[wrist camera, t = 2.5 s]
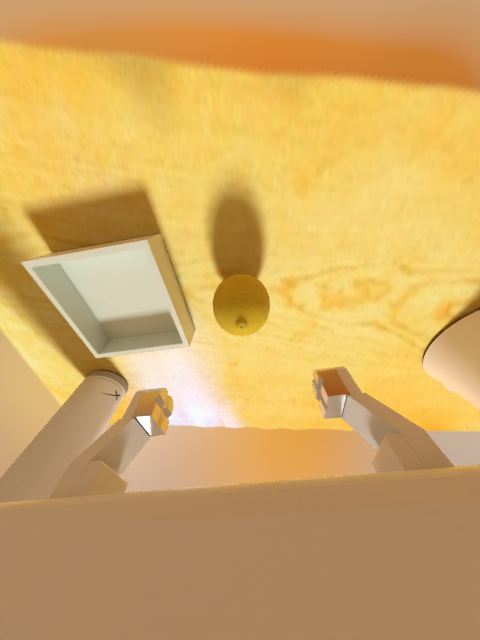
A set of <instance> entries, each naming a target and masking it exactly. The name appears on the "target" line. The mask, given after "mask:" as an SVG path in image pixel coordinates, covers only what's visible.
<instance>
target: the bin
mask: <svg viewBox="0 0 480 640" xmlns="http://www.w3.org/2000/svg"><path fill="white" fill-rule="evenodd" d="M21 264H22V265H23V266H24V268H25V269H26V270H27V271H28V273H29V274H30V275H31V276H32V278H33V279H34V280H35V281H36V283H37V284H38V285H39V287H40V288H41V289H42V290H43V292H44V293H45V294H46V295H47V297H48V298H49V299H50V300H51V302H52V303H53V304H54V306H55V307H56V308H57V309H58V311H59V312H60V313H61V314H62V316H63V317H64V318H65V319H66V321H67V322H68V323H69V325H70V326H71V327H72V328H73V330H74V331H75V332H76V333H77V335H78V336H79V337H80V338H81V340H82V341H83V342H84V344H85V345H86V346H87V347H88V349H89V350H90V351H91V352H92V354H93V355H94V356H95V357H96V358H103V357H111V356H119V355H127V354H134V353H142V352H150V351H158V350H166V349H174V348H182V347H190V344H191V341H192V338H193V335H194V332H195V328H194V325H193V322H192V319H191V317H190V314H189V311H188V308H187V305H186V303H185V300H184V297H183V294H182V291H181V288H180V286H179V283H178V280H177V277H176V274H175V272H174V269H173V266H172V263H171V260H170V258H169V255H168V252H167V249H166V246H165V243H164V241H163V238H162V235H161V233H160V234H155V235H149V236H144V237H138V238H133V239H127V240H121V241H116V242H110V243H105V244H99V245H94V246H88V247H82V248H77V249H71V250H66V251H60V252H55V253H50V254H47V255H43V256H40V257H37V258H33V259H30V260H26V261H23V262H21Z"/></svg>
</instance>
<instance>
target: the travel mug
mask: <svg viewBox="0 0 480 640" xmlns="http://www.w3.org/2000/svg"><path fill="white" fill-rule="evenodd" d="M127 390H128V385H127V382H126V381H125V380H124V379H123V378H122V377H121V376H119V375H117V374H115V373H113V372H109V371H94V372H92V373H90V374H89V375H88V376H87V377H86V378H85V380H84V381H83V382H82V383H81V384H80V385H79V387H78V388H77V389H76V390H75V391H74V392H73V394H72V395H71V396H70V397H69V398H68V399H67V401H66V402H65V403H64V404H63V405H62V407H61V408H60V409H59V410H58V411H57V412H56V414H55V415H54V416H53V417H52V418H51V420H50V421H49V422H48V423H47V424H46V425H45V426H44V428H43V429H42V430H41V431H40V432H39V433H38V435H37V436H36V437H35V438H34V439H33V441H32V442H31V443H30V444H29V445H28V446H27V448H26V449H25V450H24V451H23V452H22V454H21V455H20V456H19V457H18V458H17V459H16V461H15V462H14V463H13V464H12V465H11V467H10V468H9V469H8V470H7V471H6V472H5V473H4V475H3V476H2V477H1V478H0V502H12V501H25V500H37V499H48V498H49V497H50V495H51V494H52V492H53V491H54V489H55V487H56V486H57V484H58V483H59V481H60V479H61V478H62V476H63V475H64V473H65V472H66V470H67V468H68V467H69V465H70V464H71V462H72V461H73V460H74V459H75V458H77V457H78V456H79V455H80V454H81V453H82V452H83V451H84V450H86V449H87V448H88V447H89V446H90V445H91V444H92V443H93V442H94V441H96V440H97V439H98V438H99V437H100V436H101V435H102V434H103V432H104V430H105V428H106V427H107V425H108V423H109V421H110V420H111V418H112V416H113V415H114V413H115V411H116V409H117V408H118V406H119V404H120V403H121V401H122V399H123V397H124V396H125V394H126V392H127Z"/></svg>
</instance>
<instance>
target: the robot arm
mask: <svg viewBox="0 0 480 640" xmlns="http://www.w3.org/2000/svg"><path fill="white" fill-rule="evenodd" d="M423 368H424V370H425V372H426V373H427V374H428V375H430V376H431V377H433V378H435V379H436V380H438V381H440V382H441V383H442V385H443V386H444V387H445V388H446V389H448V390H449V391H450V392H456V393H457V394H458V395H460V396H461V397H462V398H464V399H465V400H466V401H467V402H469V403H470V404H471V405H473V406H474V407H475V408H477V409H478V410H479V411H480V310H478V311H476V312H474V313H472V314H470V315H468V316H466V317H464V318H463V319H461V320H459V321H458V322H456V323H455V324H453V325H452V326H450V327H449V328H448V329H446V330H445V331H444V332H443V333H442V334H440V335H439V336H438V337H437V338H436V339H435V340H434V342H433V343H432V344H431V345H430V347H429V348H428V350H427V351H426V353H425V356H424V359H423ZM313 376H314V378H315V379H314V380H313V384H312V385H313V391H314V394H315V397H316V399H318V400H319V401H320V405H319V407H320V409H321V412H322V414H323V416H324V419H327V418H341V417H342V419H343V420H344V421H345V422H346V423H347V424H349V425H350V426H351V427H352V428H353V429H354V430H355V431H356V432H357V433H358V434H359V435H361V436H362V437H363V438H364V439H365V440H366V441H367V442H368V443H369V444H370V445H371V446H373V447H374V448H375V449H376V450H377V453H376V456H375V457H374V459H373V461H372V465H373V467H374V469H375V471H376V473H368V474H356V475H342V476H330V477H317V478H304V479H292V480H279V481H266V482H253V483H242V484H241V483H240V484H228V485H216V486H203V487H189V488H178V489H164V490H151V491H139V492H126V493H124V492H125V490H126V487H127V484H128V483H127V480H126V479H124V478H123V477H122V476H120V475H121V474H122V473H123V472H124V470H125V469H126V468H127V466H128V465H129V464H130V463H131V461H132V460H133V459H134V458H135V456H136V455H137V454H138V452H139V451H140V450H141V449H142V447H143V446H144V444H145V443H146V442H147V441H148V440H149V438H150V436H157V435H165V434H166V431H167V427H168V424H169V420H168V417H169V416H170V415H171V414H172V411H173V400H172V398H171V396H169V395H167V394H168V391H167V389H166V388H160V389H148V390H139V391H137V392H136V393H135V395H134V397H133V399H132V401H131V403H130V405H129V406H128V408H127V410H126V412H125V414H124V416H123V418H122V419H119V420H118V421H117V422H116V423H115V424H114V425H112V426H111V427H110V428H109V429H108V430H107V431H106V432H105V433H104V434H102V435H101V436H100V437H99V438H98V439H97V440H96V441H94V442H93V443H92V444H91V445H90V446H89V447H88V448H87V449H86V450H84V451H83V452H82V453H81V454H80V455H79V456H78V457H77V458H75V459H74V460H73V461H72V462H71V464H70V465H69V467H68V468H67V470H66V472H65V473H64V475H63V476H62V478H61V479H60V481H59V483H58V484H57V486H56V487H55V489H54V491H53V492H52V494H51V495H50V497H49V498H48V499H37V500H25V501H12V502H0V640H480V465H470V466H458V467H454V466H453V465H452V463H451V462H450V461H449V459H448V458H447V457H446V456H445V455H444V454H443V452H442V451H441V450H440V448H439V447H438V446H437V445H436V444H435V442H434V441H433V440H432V439H431V437H430V436H429V435H428V434H427V433H426V431H425V430H424V429H422V428H421V427H419V426H417V425H416V424H414V423H413V422H411V421H409V420H408V419H406V418H405V417H403V416H402V415H400V414H398V413H397V412H395V411H394V410H392V409H390V408H389V407H387V406H386V405H384V404H382V403H381V402H379V401H378V400H376V399H374V398H373V397H371V396H370V395H368V394H366V393H362V392H361V390H360V389H359V387H358V386H357V384H356V383H355V381H354V380H353V378H352V377H351V375H350V374H349V372H348V371H347V369H346V368H345V367H335V368H326V369H318V370H314V371H313Z"/></svg>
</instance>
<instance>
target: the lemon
mask: <svg viewBox="0 0 480 640" xmlns="http://www.w3.org/2000/svg"><path fill="white" fill-rule="evenodd" d="M269 309H270V303H269V296H268V293H267V290H266V288H265V287H264V285H263V284H262V283H261V282H260V281H259V280H258V279H257V278H255V277H253V276H251V275H248V274H235V275H231V276H229V277H228V278H226V279H224V280H223V281H222V282H221V283H220V285H219V286H218V288H217V290H216V292H215V294H214V299H213V311H214V315H215V318H216V320H217V322H218V324H219V325H220V326H221V328H222V329H224V330H225V331H226V332H228V333H230V334H232V335H236V336H247V335H251V334H253V333H255V332H257V331H258V330H259V329H260V328H261V327H262V326H263V325H264V323H265V322H266V320H267V318H268V314H269Z"/></svg>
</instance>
